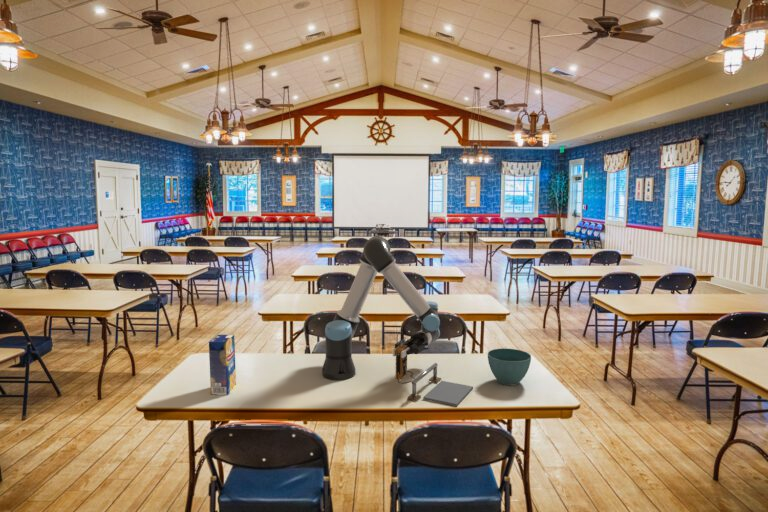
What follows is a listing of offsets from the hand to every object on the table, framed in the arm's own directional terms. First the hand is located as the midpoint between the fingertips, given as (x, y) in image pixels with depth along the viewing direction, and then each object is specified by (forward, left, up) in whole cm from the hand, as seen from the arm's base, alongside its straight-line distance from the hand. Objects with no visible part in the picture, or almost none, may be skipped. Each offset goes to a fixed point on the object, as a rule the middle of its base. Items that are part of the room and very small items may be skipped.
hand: (397, 353), depth 205 cm
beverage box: (-63, -35, -15) cm, 74 cm away
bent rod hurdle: (+10, +5, -15) cm, 19 cm away
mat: (+21, +5, -15) cm, 26 cm away
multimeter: (+3, +4, -11) cm, 12 cm away
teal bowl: (+39, +30, -15) cm, 51 cm away
